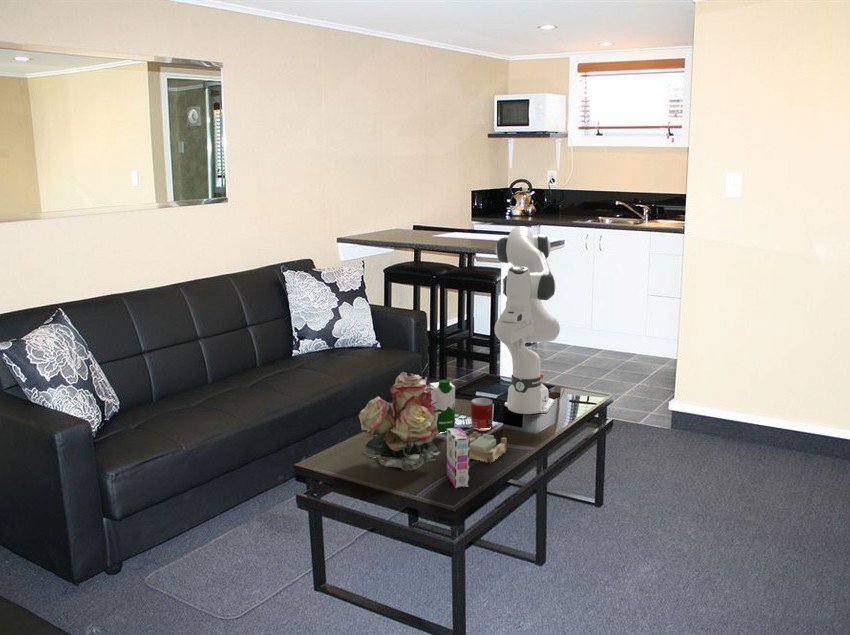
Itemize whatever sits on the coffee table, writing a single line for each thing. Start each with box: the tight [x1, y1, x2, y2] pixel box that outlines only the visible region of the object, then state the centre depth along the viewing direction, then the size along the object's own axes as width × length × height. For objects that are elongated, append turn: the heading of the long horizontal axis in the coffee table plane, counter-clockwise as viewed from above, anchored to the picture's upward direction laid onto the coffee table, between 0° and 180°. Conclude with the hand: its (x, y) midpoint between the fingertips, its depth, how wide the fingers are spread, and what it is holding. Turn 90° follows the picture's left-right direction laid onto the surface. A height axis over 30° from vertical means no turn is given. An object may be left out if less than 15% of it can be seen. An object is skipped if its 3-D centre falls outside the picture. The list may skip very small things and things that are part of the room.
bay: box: [469, 431, 508, 464], centre depth 285 cm, size 12×13×5 cm
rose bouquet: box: [358, 371, 441, 472], centre depth 281 cm, size 26×29×30 cm
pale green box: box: [470, 433, 497, 451], centre depth 285 cm, size 9×7×6 cm
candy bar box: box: [446, 427, 470, 489], centre depth 261 cm, size 11×5×16 cm, turn 13°
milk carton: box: [429, 379, 456, 433], centre depth 307 cm, size 9×9×20 cm
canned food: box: [470, 397, 493, 428], centre depth 309 cm, size 8×8×11 cm
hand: (517, 350), depth 290 cm, fingers closed
